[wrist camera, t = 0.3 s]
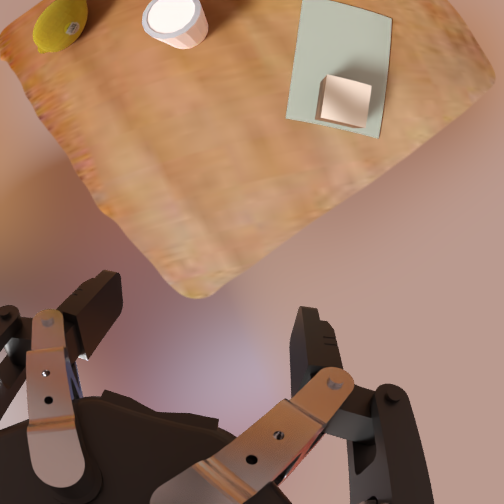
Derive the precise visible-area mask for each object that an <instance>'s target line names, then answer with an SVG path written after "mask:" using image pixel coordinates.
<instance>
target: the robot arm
mask: <svg viewBox="0 0 504 504" xmlns="http://www.w3.org/2000/svg"><path fill="white" fill-rule="evenodd" d="M122 307H123V298H122V287H121V276H120V274H119V273H117V272H112V271H108V270H103V271H102V272H101V273H100V274H98V276H96V277H95V278H91V279H89V280H87V281H85V282H84V283H82V284H81V285H80V286H79V287H78V288H77V290H75V291H74V292H73V293H72V294H71V295H70V296H69V297H68V298H67V299H66V300H65V301H64V302H63V303H62V304H61V305H60V306H59V307H58V308H57V309H56V310H55V309H46V310H42V311H40V312H38V313H37V314H36V315H35V316H34V317H33V318H26V317H21V316H20V313H19V310H18V308H17V307H15V306H12V305H6V306H3V307H0V351H1V350H2V349H3V348H5V351H6V353H7V356H6V357H5V358H4V360H3V361H2V362H1V363H0V420H1V418H2V416H3V415H4V413H5V412H6V410H7V408H8V407H9V405H10V403H11V402H12V400H13V399H14V397H15V396H16V394H17V392H18V391H19V389H20V388H21V386H22V385H23V383H24V382H25V380H26V381H27V382H26V384H27V401H28V414H29V419H27V420H25V421H23V422H20V423H17V424H15V425H12V426H10V427H7V428H4V429H2V430H0V504H292V503H291V502H290V501H289V499H288V498H287V497H286V496H285V495H284V494H283V492H282V491H281V490H280V489H279V487H278V486H279V485H280V484H281V483H282V482H283V481H284V480H285V479H286V478H287V477H288V476H289V475H290V474H291V473H292V472H293V471H294V470H295V468H296V467H297V466H298V465H299V464H300V462H301V461H302V460H303V459H304V458H305V457H306V456H307V455H308V454H309V452H310V451H311V450H312V449H313V448H314V447H315V446H316V444H317V443H318V442H319V441H320V440H321V438H322V437H323V436H324V435H325V434H326V433H327V434H330V435H333V436H336V437H340V438H343V439H347V452H348V466H349V484H350V504H434V499H433V494H432V489H431V483H430V479H429V475H428V469H427V465H426V461H425V457H424V452H423V448H422V444H421V440H420V436H419V433H418V429H417V425H416V421H415V418H414V414H413V411H412V408H411V405H410V401H409V398H408V395H407V394H406V392H405V391H404V390H403V389H401V388H400V387H398V386H396V385H393V384H383V385H380V386H379V387H378V388H377V389H376V391H372V390H369V389H366V388H362V387H359V386H357V385H355V384H354V380H353V378H352V377H351V375H350V374H349V373H347V372H346V371H344V370H343V366H342V362H341V357H340V353H339V349H338V346H337V341H336V336H335V333H334V329H333V328H332V327H331V325H330V324H329V323H328V322H327V321H321V320H320V318H319V313H318V310H317V308H311V307H303V306H300V307H299V309H298V313H297V316H296V320H295V324H294V327H293V330H292V334H291V338H290V347H289V348H290V370H291V371H290V372H291V399H290V400H287V399H283V400H282V401H280V402H279V403H278V404H277V405H276V406H275V407H274V408H272V409H271V410H270V411H269V412H268V413H266V414H265V415H264V416H263V417H262V418H261V419H259V420H258V421H257V422H256V423H254V424H253V425H252V426H251V427H250V428H248V429H247V430H246V431H245V432H243V433H242V434H241V435H240V436H238V437H236V436H234V435H233V434H231V433H229V432H227V431H225V430H223V429H221V428H219V427H218V422H219V419H216V418H210V417H205V416H200V415H195V414H191V413H166V412H165V413H164V412H156V411H154V410H152V409H150V408H148V407H146V406H144V405H142V404H141V403H138V402H137V401H135V400H133V399H132V398H130V397H126V396H123V395H120V394H117V393H114V392H111V391H108V390H104V392H103V394H102V396H101V397H99V396H97V397H96V396H91V397H83V393H82V389H81V384H80V379H79V374H78V369H77V364H76V359H77V358H78V357H80V358H82V359H85V360H88V359H89V357H90V356H91V355H92V353H93V352H94V350H95V349H96V347H97V346H98V345H99V343H100V342H101V340H102V339H103V338H104V336H105V335H106V333H107V332H108V330H109V329H110V328H111V326H112V325H113V323H114V322H115V321H116V319H117V318H118V317H119V315H120V313H121V311H122Z"/></svg>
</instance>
